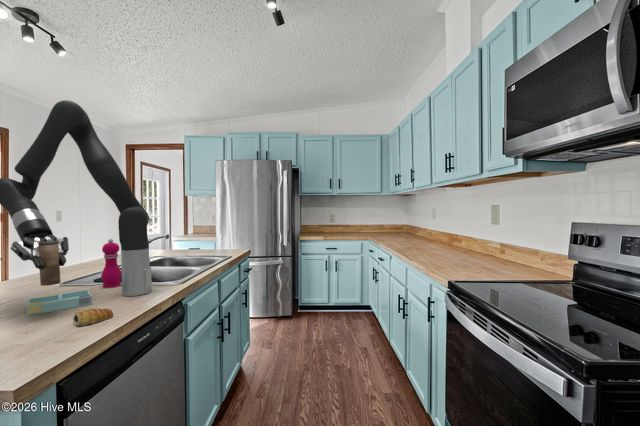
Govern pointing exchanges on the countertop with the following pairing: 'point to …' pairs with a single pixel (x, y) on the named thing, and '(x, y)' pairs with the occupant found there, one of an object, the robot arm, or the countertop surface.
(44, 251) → the walnut peg
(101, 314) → the pastry
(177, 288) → the countertop surface
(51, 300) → the socket block
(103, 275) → the pepper mill
